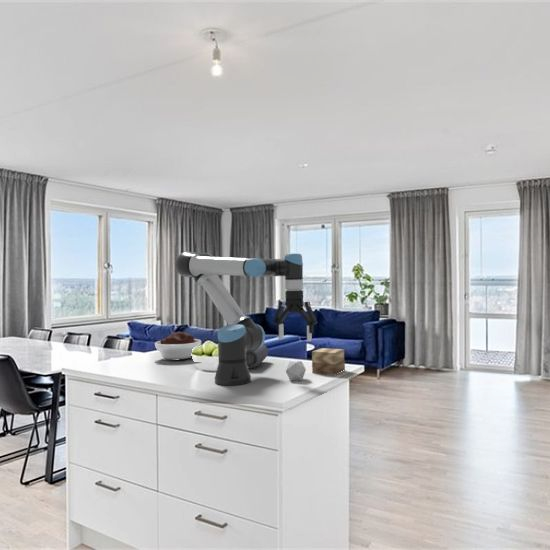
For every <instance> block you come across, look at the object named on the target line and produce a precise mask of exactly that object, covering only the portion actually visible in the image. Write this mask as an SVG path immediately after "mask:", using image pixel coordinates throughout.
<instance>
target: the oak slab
mask: <svg viewBox="0 0 550 550" xmlns="http://www.w3.org/2000/svg"><path fill="white" fill-rule="evenodd" d="M341 361H345V350H344V348H343V349H340V348H323V347H321V348H318V349H316V350H312V351H311V363H324V364H337V363H339V362H341Z"/></svg>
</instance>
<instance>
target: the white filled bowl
mask: <svg viewBox="0 0 550 550" xmlns="http://www.w3.org/2000/svg"><path fill="white" fill-rule="evenodd" d="M154 346H155V348H156V350H157V351H158V352H159V353H160V356H161V357H162V358H163V359H165V360H171V359H184V360H186V359H189V358H192V357H191V353H192V349H193V348H194V347H196V346H200V347H201V346H202V340H201V339H197V338H195V337H194V336H193V335H192V334H190V333H189V332H183V331H177V332H176V331H175V332H171V334H170V335H169V336H166V338H162V339H160V340H158V341H156V342H154Z"/></svg>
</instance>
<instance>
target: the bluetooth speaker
mask: <svg viewBox="0 0 550 550" xmlns="http://www.w3.org/2000/svg"><path fill="white" fill-rule="evenodd" d="M268 353H269V349H268V347H267V346H266V345H265V344H263V345H262V347H261V348H259V349H257V350H256V351H252V352H248V353H246V363H247V366H248V369H249V368H251V369H255V368H258V367H259V366H260V365H261V363H262V362H264V360H265V359H266V358H267V357H268Z"/></svg>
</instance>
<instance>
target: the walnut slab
mask: <svg viewBox="0 0 550 550" xmlns="http://www.w3.org/2000/svg"><path fill="white" fill-rule="evenodd" d="M311 363H312V362H311ZM345 363H346V362H345V360H344V361H341V362H339V363H337V364H324V363H312V364H311V366H312V369H311V372H312V374H317V373H320V374H321V375H327V374H331V375H330V376H335V374H336V375H338V374H337V373H339V372H341V371H343V370H345V371H346V365H345ZM343 372H344V371H343ZM341 373H342V372H341ZM320 374H319V375H320ZM339 374H340V373H339Z"/></svg>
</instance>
